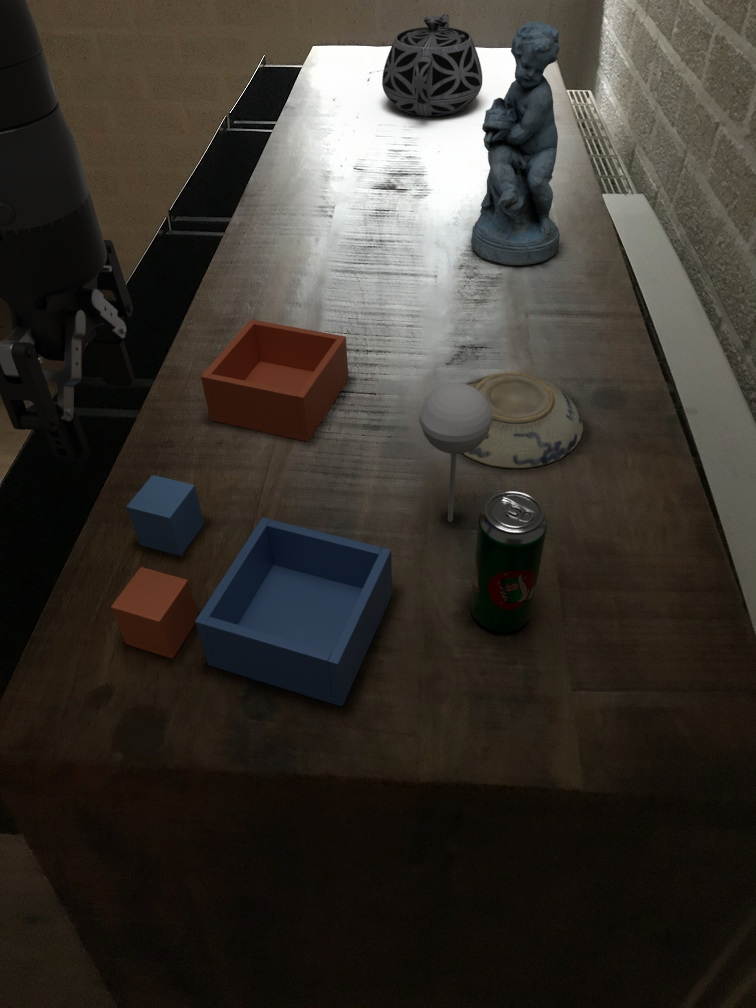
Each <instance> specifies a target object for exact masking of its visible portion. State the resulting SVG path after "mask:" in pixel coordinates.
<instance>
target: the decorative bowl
mask: <svg viewBox="0 0 756 1008" xmlns="http://www.w3.org/2000/svg"><path fill="white" fill-rule="evenodd" d="M465 384H466V385H469V386H472V387H474V388H475V389H477V390H478V391H479V392H480V393H481V394H482V395H483V396H484V397H485V399H486V400H487V402H488V404H489V405H490V407H491V409H492V424H491V427H490V430H489V432H488V434H487V436H486V438H485V439H484V440H483V442H482V443H481V444H480V445H479V446H477V447H476V448H474V449H473V450H471V451H469V452H466V453H462V454H463V455H464V456H465V457H467V458H469V459H470V460H472V461H475V462H477V463H481V464H483V465H486V466H490V467H494V468H495V467H496V468H501V469H502V468H503V469H518V470H519V469H530V468H535V467H541V466H546V465H549V464H551V463H553V462H556V461H559V460H561V459H563V458H564V457H566V456H567V455H568V454H569V453H572V451H573V450H575V449H576V447H577V445H578V444H579V442H580V441H581V438H582V434H584V433H583V432H584V426H583V425H584V423H583V420H582V416H581V414H580V412H579V410H578V408H577V406H576V405H575V403H574V402H573V400H572V399H571V398H570V396H568V395H567V394H566V393H565V392H564V391H562V390H561V389H560V388H558V387H557V386H555V385H554V384H552V383H550V382H549V381H546V380H545V379H544V380H543V379H541V378H538V377H534V376H533V375H529V374H526V373H521V372H520V373H519V372H508V371H507V372H499V373H498V372H497V373H494V374H490V375H486V376H482V377H479V378H476V379H474V380H471V381H469V382H467V383H465Z"/></svg>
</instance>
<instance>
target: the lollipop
mask: <svg viewBox="0 0 756 1008" xmlns="http://www.w3.org/2000/svg"><path fill="white" fill-rule="evenodd" d="M466 384H467V383H462V382H452V383H446V384H443V385H441V386H438V388H436V389H435V390H433V391H432V392H431V393H430V394H429V395H428V396H427V397H426V399H425V401H424V402H423V404H422V406H421V408H420V412H419V417H418V418H419V425H420V427H421V431H422V433H423V435H424V437H425V438H426V441H428V442H429V444H430V445H431V446H432V447H434V448H435V449H437V450H438V451H440V452H443V453H446V454H450V466H449V467H450V471H449V485H448V486H449V487H448V489H449V490H448V507H447V508H448V509H447V522H450V523H451V522H453V520H454V519H453V518H454V504H455V503H454V502H455V485H456V469H457V455H460V454H463V453H466V452H469V451H471V450H473V449H474V448H476V447H477V446H479V445H480V444H481V443H482V442H483V440H484V439H485V438H486V436H487V434H488V432H489V430H490V427H491V424H492V409H491V407H490V405H489V404H488V402H487V400H486V399H485V397H484V396H483V395H482V394H481V393H480V392H479V391H478V390H477V389H475V388H474V387H472V386H469V385H466Z"/></svg>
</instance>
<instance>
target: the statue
mask: <svg viewBox="0 0 756 1008" xmlns="http://www.w3.org/2000/svg"><path fill="white" fill-rule="evenodd" d="M559 35H560V33H559V31H558V29H557V28H556V27H554V26H552V25H551V24H547V23H545V22H543V21H527V22H525V23H523V25H522V26H521V27H520V28H518V29H517V30H516V32H515V35H514V37H513V38H512V41H511V48H510V53H511V55H512V56H513V57H514V61H515V69H514V79H515V80H514V81H512V82H511V83H510V86H509V88H508V90H507V92H506V94H505V95H504V98H503V97H497V98H495V99H493V101H492V104H491V107H490V108H488V109H486V110H485V115H484V119H483V123H482V127H481V129H482V131H483V132H484V133H485V135H484V137H483V146H484V148H485V150H486V151H487V162H488V165H489V171H488V174H487V178H486V193H485V195H484V196H483V197H484V198H483V199H482V201H481V203H480V207H481V208H480V210H479V212H480V215H479V217H478V219H477V220H476V221H475V222H474V225H473V226H472V231H471V241H470V243H471V247H472V250H473V251H474V252H475V253H476V254H477V256H479V257H480V258H482V259H485V260H487V261H489V262H494V263H498V264H502V265H508V266H528V265H529V266H530V265H533V264H538V263H539V264H540V263H543V262H545V261H547V260H549V259H551V258H552V257H553V256H554V255H555V254H556V253H557V252H558V250H559V243H560V238H561V237H560V236H561V233H560V232H561V231H560V229H559V227H558V226H557V225H556V222H554V221H553V220H552V219H551V218H550V212H551V209H552V205H553V200H554V191H553V189H552V187H551V185H550V182H551V181H552V180H553V173H554V171H555V170H554V169H555V165H556V161H557V155H558V154H557V152H558V140H559V134H558V133H559V132H558V129H557V128H558V127H557V124H556V119H555V110H554V97H553V90H552V87H551V85H550V83H549V81H548V79H547V77H545V76H544V72H545V70H546V69H547V67H548V66H549V65H551V64H553V63H556V62H557V60H558V54H559V51H560V43H559Z"/></svg>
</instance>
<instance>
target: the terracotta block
mask: <svg viewBox="0 0 756 1008" xmlns="http://www.w3.org/2000/svg"><path fill="white" fill-rule="evenodd" d="M193 596H194V595H193V592H192V588H191V586H190V583H189V580H188V579H186V578H182V577H179V576H175V575H172V574H168V573H164V572H161V571H158V570H155V569H154V570H153V569H150V568H146V567H144V566H140V568H138V570H137V571H136V573H134V575H133V576H132V578H131V579H130V580H129V582H128V583H127V584H126V586H125V588H123V590H122V591H121V593H120V594H119V595H118V596H117V598H116V599H115V601H114V602H113V603H112V605H111V606H110V609H111V611H112V614H113V616H114V618H115V620H116V623H117V625H118V628H119V630H120V632H121V634H122V637H123V640H124V642H125V644H126V645H128V646H130V647H133V648H136V649H140V650H143V651H146V652H150V653H153V654H156V655H159V656H163V657H166V658H169V659H174V657H175V656H176V654H177V653H178V651H179V650H180V648H181V647H182V645H183V643H184V642H185V640H186V639H187V637H189V634H190V633H191V631H192V630H193V628H194V627H195V626H196V623H195V621H196V619H197V618H198V616H199V613H198V609H197V606H196V603H195V599H194V597H193Z"/></svg>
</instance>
